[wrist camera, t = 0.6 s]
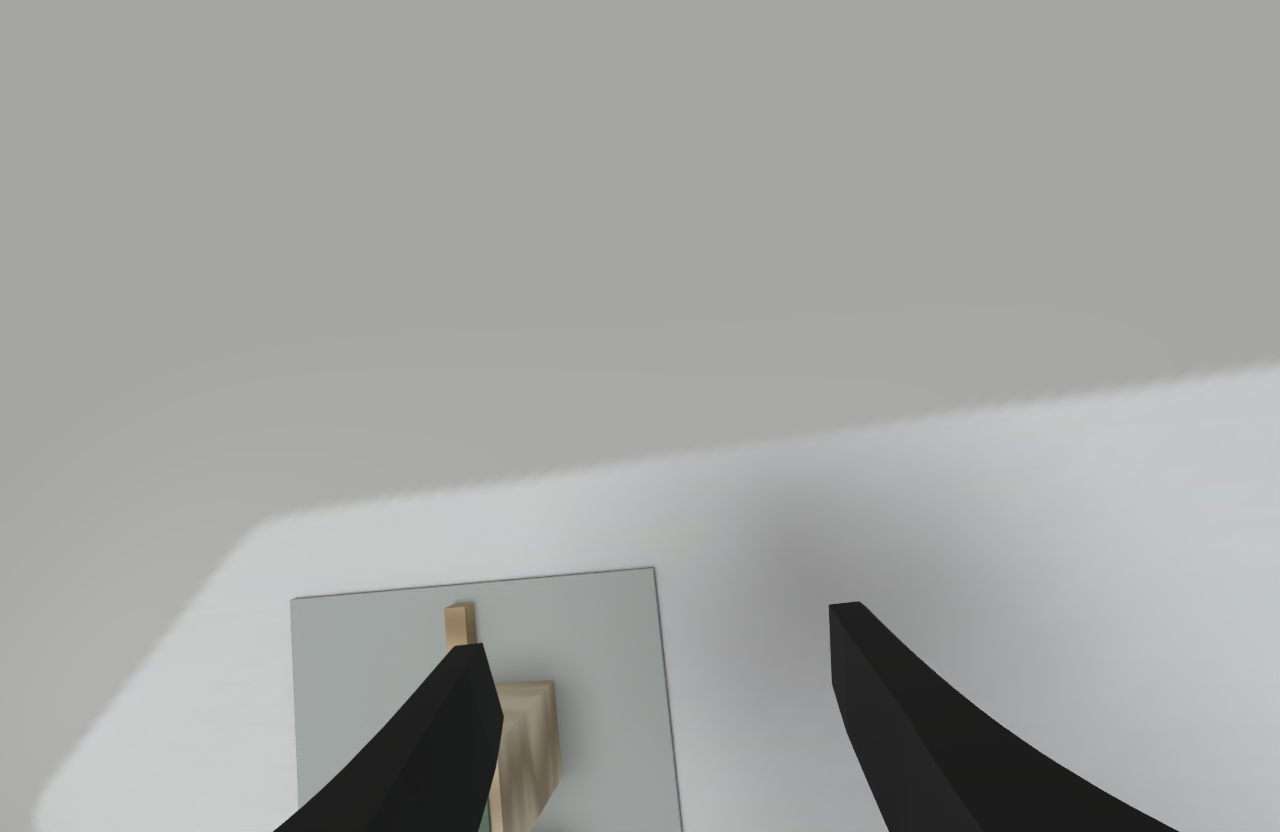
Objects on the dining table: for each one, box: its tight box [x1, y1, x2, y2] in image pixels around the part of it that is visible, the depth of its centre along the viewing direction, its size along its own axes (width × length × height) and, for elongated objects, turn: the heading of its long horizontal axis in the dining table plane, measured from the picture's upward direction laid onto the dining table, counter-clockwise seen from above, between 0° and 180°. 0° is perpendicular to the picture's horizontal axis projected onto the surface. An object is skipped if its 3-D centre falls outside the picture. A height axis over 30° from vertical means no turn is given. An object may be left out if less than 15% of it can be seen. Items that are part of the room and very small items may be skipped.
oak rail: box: [444, 602, 477, 654], centre depth 33 cm, size 18×1×1 cm, turn 6°
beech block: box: [478, 680, 562, 832], centre depth 29 cm, size 5×4×8 cm
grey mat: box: [290, 567, 682, 832], centre depth 34 cm, size 20×22×1 cm
